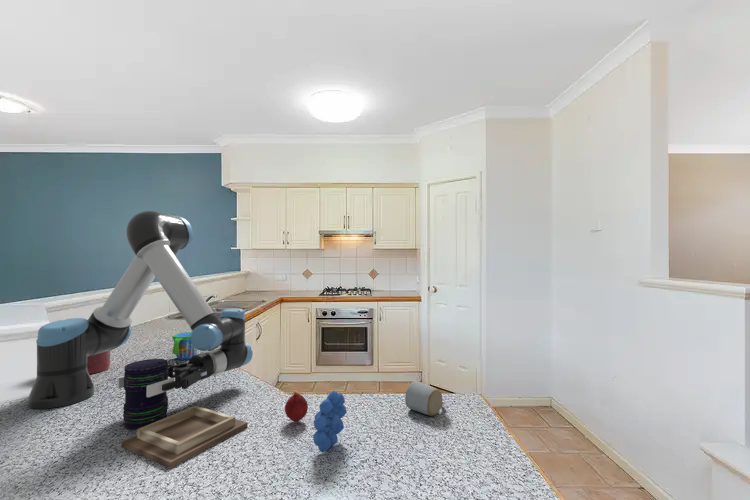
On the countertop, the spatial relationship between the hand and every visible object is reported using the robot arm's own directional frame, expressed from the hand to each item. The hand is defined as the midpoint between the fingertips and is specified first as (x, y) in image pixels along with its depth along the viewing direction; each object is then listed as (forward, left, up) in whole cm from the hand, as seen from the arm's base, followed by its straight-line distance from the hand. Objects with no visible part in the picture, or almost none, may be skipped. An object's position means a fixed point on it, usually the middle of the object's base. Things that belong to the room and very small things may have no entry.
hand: (132, 387), depth 91 cm
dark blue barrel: (0, +4, -10) cm, 11 cm away
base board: (+17, +4, -10) cm, 20 cm away
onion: (+35, +22, -10) cm, 42 cm away
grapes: (+49, +16, -10) cm, 52 cm away
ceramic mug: (+62, +44, -10) cm, 77 cm away
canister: (-63, +19, -10) cm, 66 cm away
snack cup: (-46, +47, -10) cm, 66 cm away
